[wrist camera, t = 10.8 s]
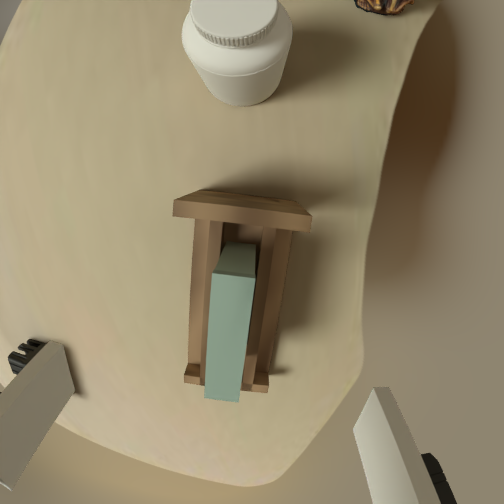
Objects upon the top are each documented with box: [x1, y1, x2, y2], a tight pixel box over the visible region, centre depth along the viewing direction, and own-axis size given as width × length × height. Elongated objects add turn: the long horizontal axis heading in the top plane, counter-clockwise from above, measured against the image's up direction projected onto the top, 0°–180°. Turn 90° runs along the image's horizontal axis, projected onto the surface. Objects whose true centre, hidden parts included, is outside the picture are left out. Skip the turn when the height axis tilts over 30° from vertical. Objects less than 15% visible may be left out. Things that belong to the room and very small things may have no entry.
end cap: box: [8, 339, 46, 375], centre depth 35 cm, size 10×7×7 cm
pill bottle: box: [182, 0, 293, 106], centre depth 20 cm, size 8×8×15 cm
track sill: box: [173, 190, 312, 393], centre depth 29 cm, size 10×22×10 cm, turn 173°
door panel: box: [204, 241, 256, 402], centre depth 28 cm, size 3×12×10 cm, turn 173°
